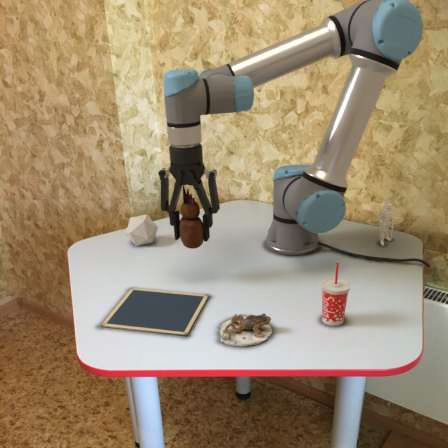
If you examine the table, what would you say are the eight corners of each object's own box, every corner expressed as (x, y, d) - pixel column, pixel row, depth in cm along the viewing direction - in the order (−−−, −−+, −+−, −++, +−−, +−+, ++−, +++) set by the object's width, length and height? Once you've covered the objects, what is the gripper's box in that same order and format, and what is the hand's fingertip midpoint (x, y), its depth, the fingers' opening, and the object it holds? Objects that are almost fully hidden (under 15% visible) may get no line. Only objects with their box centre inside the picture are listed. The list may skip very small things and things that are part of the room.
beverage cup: (313, 316, 120) (317, 260, 113) (337, 311, 122) (342, 255, 115) (327, 330, 115) (332, 271, 108) (352, 324, 117) (358, 266, 110)
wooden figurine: (177, 243, 134) (172, 185, 127) (198, 238, 136) (194, 181, 129) (186, 253, 129) (181, 193, 122) (208, 248, 131) (205, 189, 123)
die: (153, 236, 165) (131, 212, 162) (168, 230, 158) (145, 204, 155) (137, 255, 161) (114, 230, 157) (152, 248, 154) (128, 222, 150)
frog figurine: (269, 315, 121) (270, 301, 119) (275, 345, 110) (275, 330, 108) (219, 317, 121) (218, 302, 119) (219, 347, 110) (219, 332, 108)
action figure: (381, 246, 153) (386, 206, 147) (372, 242, 155) (376, 202, 149) (397, 241, 156) (402, 201, 150) (387, 237, 158) (392, 198, 152)
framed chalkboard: (208, 296, 130) (208, 294, 129) (186, 336, 114) (186, 334, 114) (131, 289, 134) (131, 287, 134) (101, 326, 119) (100, 325, 118)
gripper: (231, 140, 121) (234, 234, 133) (150, 139, 126) (159, 230, 137) (223, 149, 115) (227, 246, 126) (138, 147, 119) (149, 242, 131)
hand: (192, 238), depth 132 cm, fingers closed on wooden figurine, 7 cm apart
